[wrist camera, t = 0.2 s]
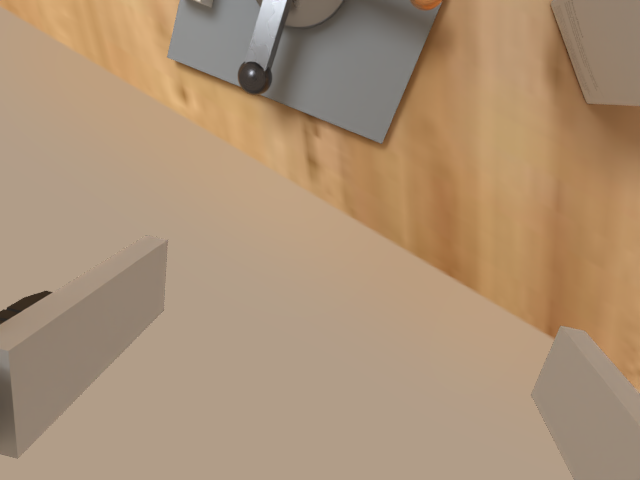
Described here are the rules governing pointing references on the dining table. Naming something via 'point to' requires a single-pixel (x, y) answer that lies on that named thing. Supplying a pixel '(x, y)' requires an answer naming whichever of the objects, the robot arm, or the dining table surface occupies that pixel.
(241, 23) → the stand
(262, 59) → the capstan
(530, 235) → the dining table surface
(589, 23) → the supplement box
